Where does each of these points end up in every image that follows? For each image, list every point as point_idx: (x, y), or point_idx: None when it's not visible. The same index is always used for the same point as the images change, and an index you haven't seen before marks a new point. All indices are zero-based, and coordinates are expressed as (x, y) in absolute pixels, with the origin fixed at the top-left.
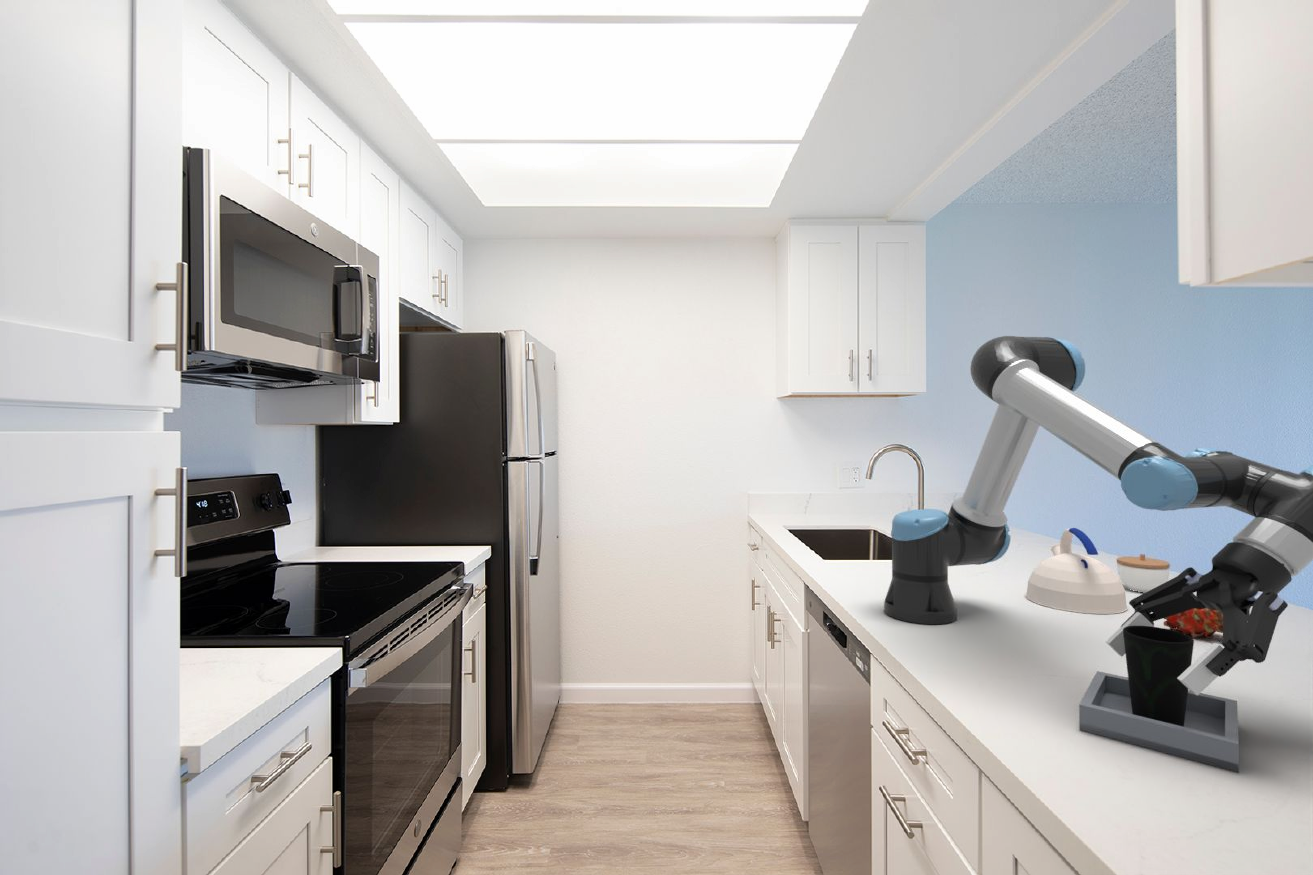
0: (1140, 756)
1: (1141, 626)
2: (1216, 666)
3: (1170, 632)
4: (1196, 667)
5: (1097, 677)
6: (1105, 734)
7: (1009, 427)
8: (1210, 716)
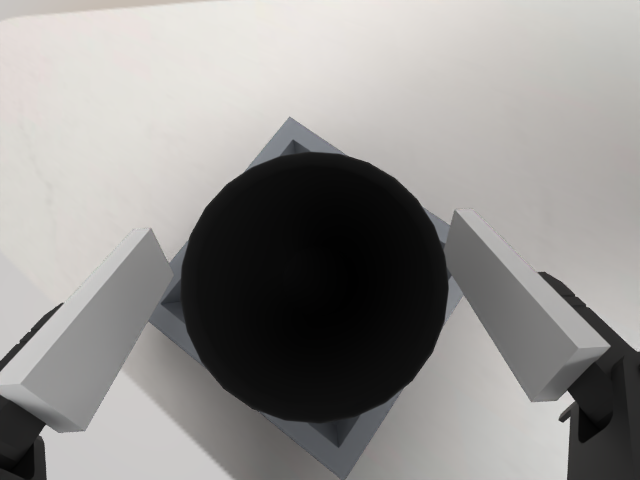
0: (211, 186)
1: (437, 281)
2: (43, 317)
3: (379, 382)
4: (96, 269)
5: (446, 230)
6: None
7: None
8: None
